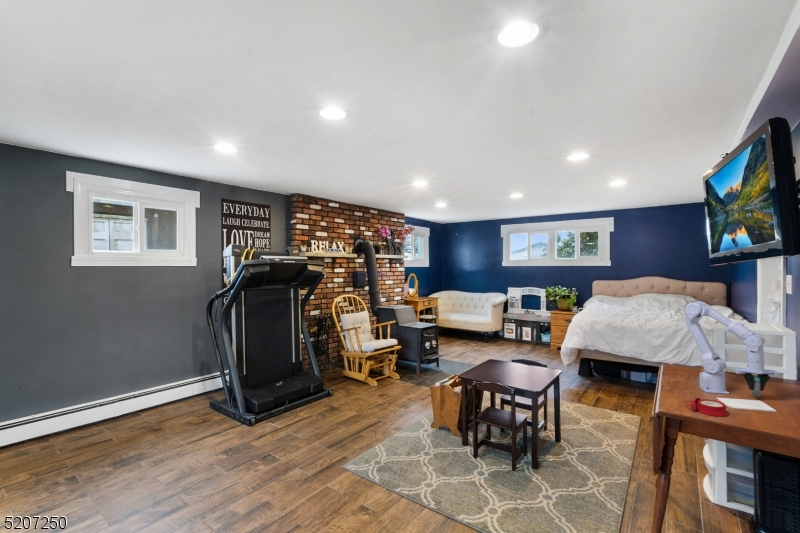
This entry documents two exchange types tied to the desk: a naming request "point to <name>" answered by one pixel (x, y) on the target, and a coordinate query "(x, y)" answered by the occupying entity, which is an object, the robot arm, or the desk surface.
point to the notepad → (746, 404)
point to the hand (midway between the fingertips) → (756, 389)
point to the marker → (757, 386)
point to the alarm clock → (709, 407)
